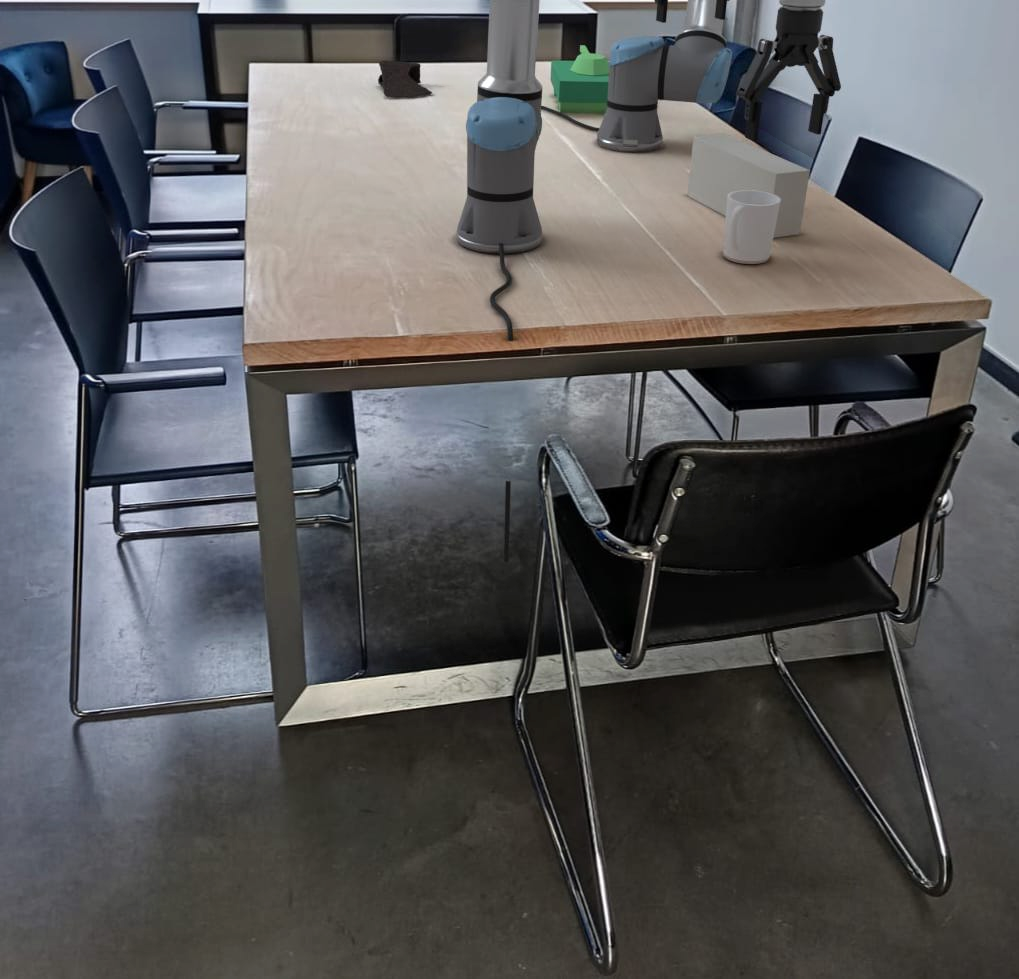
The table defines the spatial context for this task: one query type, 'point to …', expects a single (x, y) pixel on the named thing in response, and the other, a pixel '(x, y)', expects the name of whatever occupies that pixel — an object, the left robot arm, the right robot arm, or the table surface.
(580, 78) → the toy tank
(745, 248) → the mug
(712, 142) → the box
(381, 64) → the axe head
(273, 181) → the table surface
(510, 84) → the left robot arm
